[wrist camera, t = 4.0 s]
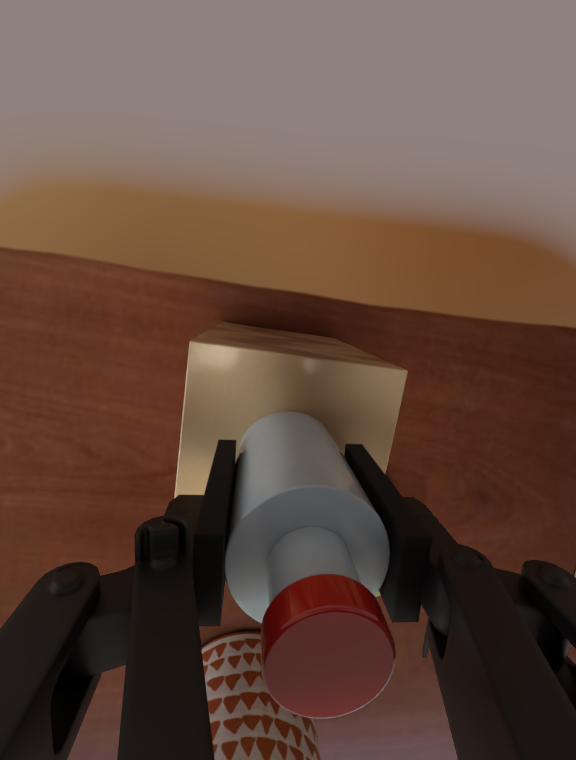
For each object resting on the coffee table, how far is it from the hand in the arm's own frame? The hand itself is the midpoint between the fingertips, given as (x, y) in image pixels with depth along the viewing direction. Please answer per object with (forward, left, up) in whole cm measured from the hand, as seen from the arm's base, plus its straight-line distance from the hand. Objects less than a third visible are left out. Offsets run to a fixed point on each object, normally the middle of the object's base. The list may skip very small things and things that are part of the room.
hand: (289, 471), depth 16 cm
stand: (0, 0, -17) cm, 17 cm away
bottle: (0, 0, -1) cm, 1 cm away
